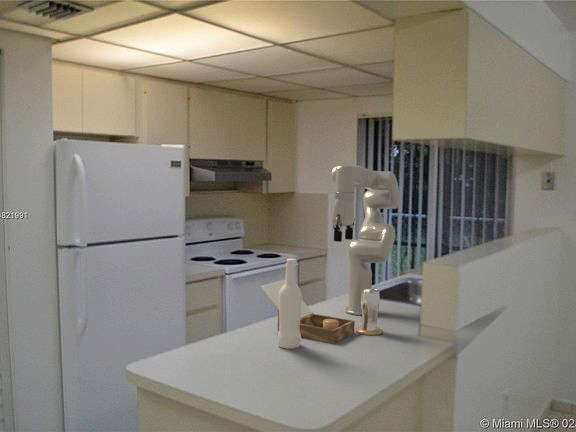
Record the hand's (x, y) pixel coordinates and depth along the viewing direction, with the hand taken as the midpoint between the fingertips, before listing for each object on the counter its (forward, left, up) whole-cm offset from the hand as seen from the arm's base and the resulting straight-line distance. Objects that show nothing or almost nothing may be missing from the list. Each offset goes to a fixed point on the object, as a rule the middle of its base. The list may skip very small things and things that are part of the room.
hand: (343, 240), depth 216 cm
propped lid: (+17, -15, -33) cm, 40 cm away
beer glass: (+4, +14, -33) cm, 36 cm away
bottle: (+37, -1, -34) cm, 50 cm away
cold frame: (+17, +1, -33) cm, 37 cm away
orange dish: (+4, +14, -33) cm, 36 cm away
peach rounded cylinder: (+19, +6, -33) cm, 39 cm away
